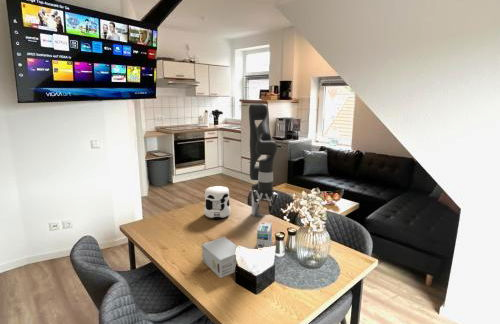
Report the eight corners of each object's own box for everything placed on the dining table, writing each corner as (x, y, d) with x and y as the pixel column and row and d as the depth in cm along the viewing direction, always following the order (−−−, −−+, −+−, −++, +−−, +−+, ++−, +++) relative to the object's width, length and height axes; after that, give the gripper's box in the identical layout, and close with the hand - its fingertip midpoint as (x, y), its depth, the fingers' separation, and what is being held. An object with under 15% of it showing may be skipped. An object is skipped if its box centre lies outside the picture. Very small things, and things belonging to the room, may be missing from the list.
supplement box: (201, 261, 141) (201, 243, 138) (224, 252, 148) (224, 235, 146) (220, 278, 128) (219, 259, 125) (244, 268, 135) (244, 250, 133)
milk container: (220, 208, 205) (219, 184, 200) (236, 216, 192) (235, 190, 188) (199, 215, 193) (198, 189, 189) (214, 223, 181) (213, 196, 177)
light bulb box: (269, 250, 150) (269, 231, 148) (256, 249, 152) (256, 230, 149) (272, 240, 160) (272, 222, 158) (260, 239, 162) (260, 221, 159)
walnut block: (262, 210, 155) (262, 197, 153) (271, 211, 153) (271, 199, 151) (258, 213, 150) (258, 200, 149) (267, 215, 148) (268, 202, 147)
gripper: (281, 179, 148) (280, 210, 152) (255, 176, 154) (255, 206, 158) (276, 183, 141) (275, 216, 145) (249, 179, 147) (249, 211, 151)
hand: (265, 210), depth 151 cm, fingers closed on walnut block, 5 cm apart
